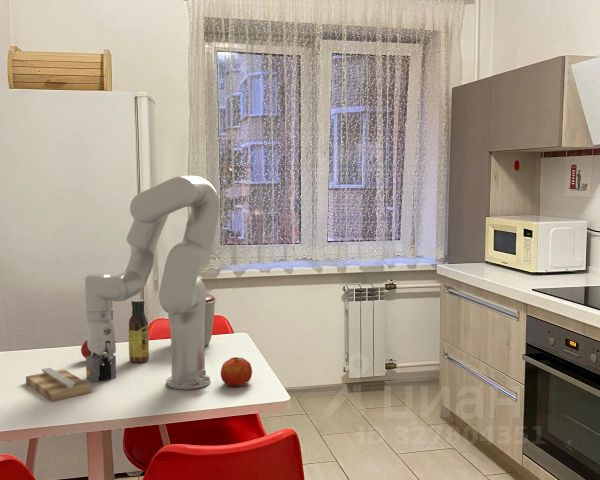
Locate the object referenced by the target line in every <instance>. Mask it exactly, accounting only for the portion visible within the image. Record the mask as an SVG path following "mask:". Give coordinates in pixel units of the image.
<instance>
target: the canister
mask: <svg viewBox="0 0 600 480" xmlns="http://www.w3.org/2000/svg"><path fill="white" fill-rule="evenodd" d="M217 301H218V299H217V297H215V296H214V295H212V294H210V293H207V292H206V302H205V313H204V347H206V346H208V344H210V342H211V341H212V335H213V326H214V316H215V308H216V307H215V305H216V304H215V303H216V302H217ZM167 318H168V323H169V324H168V325H169V331H170V333H171V314H169V313H167Z"/></svg>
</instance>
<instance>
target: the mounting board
mask: <svg viewBox="0 0 600 480" xmlns="http://www.w3.org/2000/svg"><path fill="white" fill-rule="evenodd" d="M54 370H55V369H54ZM55 371H57V372H58V373H60V374H62V375H63V376H65V377H66V378H68V379H70V380H71V381H73V382H75V384H73V388H71V389H66V388H65V387H63V386H62V385H60V384H59V383H57V382H55V381H54V380H52V379H51V378H49V377H47V376H46V375H44V374H43V372H41V373H37V374H30V375H26V376H25V384H27V385H28V386H29V387H31V388H33V390H34V391H36V392H38V393H39V394H41V395H42V396H44V397H45V398H47V399H48V400H50V401H51V402H55V401H60V400H63V399H65V400H66V399H68V398H73V397H78V396H81V395H85V394H90V393H92V384H90V383H88V382H87V381H85V380H83V379H81V378H80V377H78V376H77V375H75V374H73V373H72V372H70V371H68V370H66V369H64V368H61V369H60V368H59V369H57V370H55Z"/></svg>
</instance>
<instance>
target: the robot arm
mask: <svg viewBox="0 0 600 480" xmlns="http://www.w3.org/2000/svg"><path fill="white" fill-rule="evenodd" d="M220 203H221V201H220V197H219V194H218V192H217V190H216V189H215V187H214V186H213V185H212V184H211V183H210V182H209V181H208V180H207V179H205V178H203V177H201V176H198V175H181V176H180V175H178V176H175V177H172V178H169V179H166V180H165V181H162V182H161V183H159V184H157V185H155V186H152V187H150V188H148V189H145V190H143V191H141V192H139V193H137V194H136V195H135V196H134V197H133V198H132V200H131V202H130V205H129V211H130V214H131V217H132V218H133V222H132V224H131V227H130V229H129V231H128V233H127V236H126V242H127V244H128V245H129V247H130V250H131V251H130V257H129V260H128V264H127V266H126V268H125V271H124V272H123V273H119V274H117V275H112V276H111V275H110V274H108V273H105V272H103V273H102V272H101V273H98V272H97V273H90V274H88V275H86V277H85V279H84V286H85V288H84V289H85V290H84V291H85V293H84V294H85V316H86V317H85V319H86V323H87V325H86V326H87V328H86V330H87V331H86V333H87V334H86V336H87V338H86V341H87V345H88V349H89V350H90V354H91V355H100V361H101V365H100V376H99V378H100V379H101V380H103V379H110V378H109V377H111V361H112V359H113V357H114V356H113V355H115V353H116V352H117V347H116V334H115V327H114V322H113V320H114V315H113V314H114V313H113V312H114V311H113V308H114V307H113V302H119V303H120V302H123V301H127V300H129V299H130V298H133V297H134V296H137V295H139V294H140V293H141V292H142V291H143V290H144V288H145V286H146V284H147V282H148V279H149V277H150V276H151V275H150V274H151V272H152V269H153V266H154V261H155V255H156V254H155V250H156V246H157V244H158V241H159V239H160V236H161V233H162V232H163V230H164V227H165V225H166V222H167V220H168V217H169V214H172V213H175V212H176V211H179V210H182V209H183V208H187V207H190V213H189V216H188V217H187V218H188V219H187V221H186V224H185V231H184V235H183V237H182V241H181V242H179V243H177V244H176V245H174V246H172V248H171V249H170V250H169V251H168V253H167V257H166V258H165V259H166V260H165V263H164V267H163V268H164V269H163V274H162V278H161V282H160V286H159V287H160V288H159V293H158V299H159V304H160V307H161V309H162V310H163V311H165V313H167V314H168V313H169V314H171V332H170V347H171V348H170V349H171V350H170V351H171V352H170V353H171V354H170V355H171V356H170V357H171V376H169V377H167V379H166V380H165V381H166V385H167V386H168V388H171V389H175V390H184V391H185V390H186V391H187V390H195V389H201V388H203V387H204V388H205V387H206V386H207V385H209V384H210V383H211V377H210V375H207V373H206V372H207V370H206V363H205V358H206V357H205V355H206V354H205V346H204V313H205V302H206V293H207V289H206V287H205V283H204V281H202V279H200V277H198V276H199V273H200V272H202V271H204V270H205V269H206V268H207V267H208V266H209V264H210V261H211V256H212V252H213V248H214V242H215V238H216V233H217V227H218V223H219V218H220V212H221V204H220ZM103 353H107V354H104V355H103ZM105 356H107V357H106V358H105V359H103V357H105Z"/></svg>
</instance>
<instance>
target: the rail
mask: <svg viewBox="0 0 600 480" xmlns="http://www.w3.org/2000/svg"><path fill="white" fill-rule="evenodd" d="M41 372H42V373H43V374H44V375H46V376H47V377H49V378H51V379H52V380H54V381H55V382H57V383H59V384H60V385H62V386H63V387H65V388H66V389H71V388H73V384H75V382H73V381H71V380H70V379H68V378H66V377H65V376H63V375H62V374H60V373H58V372H57V371H55V369H53V368H52V367H46V368H42V369H41Z"/></svg>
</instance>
